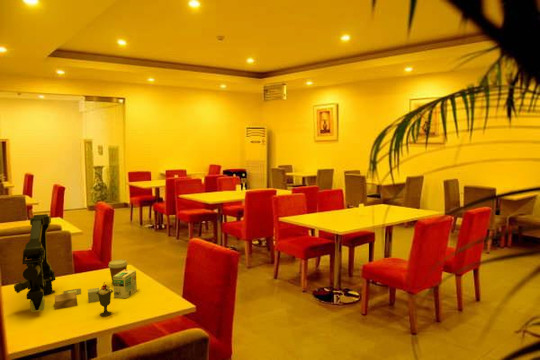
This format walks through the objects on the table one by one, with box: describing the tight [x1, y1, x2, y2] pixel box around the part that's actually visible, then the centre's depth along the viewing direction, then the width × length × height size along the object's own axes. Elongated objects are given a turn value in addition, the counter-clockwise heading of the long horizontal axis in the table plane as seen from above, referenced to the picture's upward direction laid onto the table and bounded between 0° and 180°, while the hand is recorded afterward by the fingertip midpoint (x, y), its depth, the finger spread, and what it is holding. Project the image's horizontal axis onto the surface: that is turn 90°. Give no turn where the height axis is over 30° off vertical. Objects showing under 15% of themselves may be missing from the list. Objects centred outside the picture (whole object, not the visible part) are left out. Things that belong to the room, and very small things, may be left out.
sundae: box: [96, 282, 114, 318], centre depth 179 cm, size 7×7×15 cm
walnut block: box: [54, 292, 78, 310], centre depth 192 cm, size 9×9×4 cm
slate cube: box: [87, 287, 100, 304], centre depth 196 cm, size 5×5×5 cm
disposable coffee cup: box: [107, 259, 129, 284], centre depth 217 cm, size 10×10×12 cm
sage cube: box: [29, 296, 46, 313], centre depth 187 cm, size 5×5×5 cm
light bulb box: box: [112, 269, 138, 299], centre depth 203 cm, size 11×7×11 cm, turn 168°
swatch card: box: [62, 288, 82, 296], centre depth 206 cm, size 8×8×1 cm
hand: (37, 306), depth 187 cm, fingers open, 7 cm apart
